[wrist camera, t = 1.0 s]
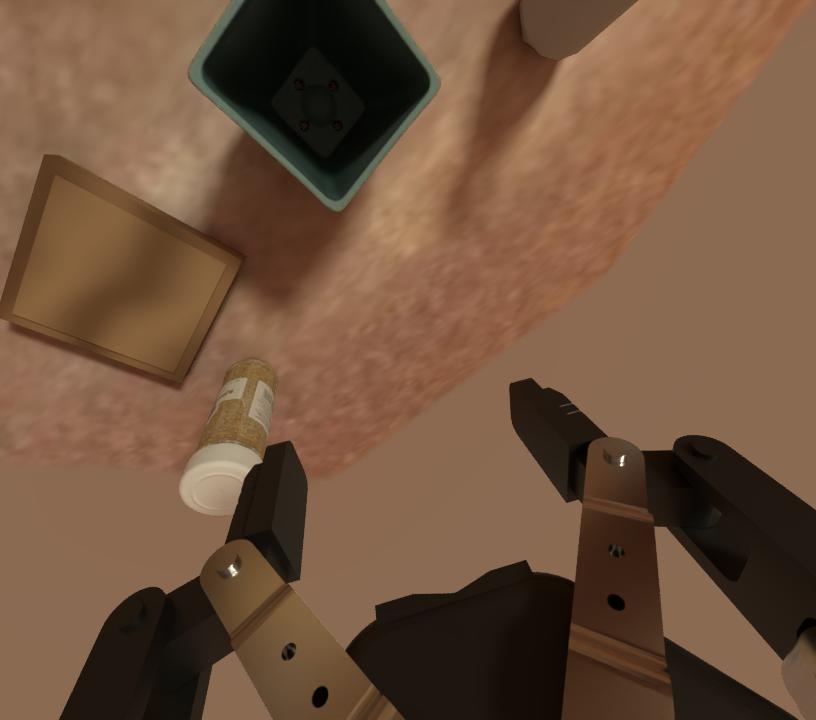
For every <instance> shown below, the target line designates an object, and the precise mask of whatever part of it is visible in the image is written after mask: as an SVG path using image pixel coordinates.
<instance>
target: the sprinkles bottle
mask: <svg viewBox="0 0 816 720" xmlns="http://www.w3.org/2000/svg"><path fill="white" fill-rule="evenodd" d="M277 386H278V379H277V375H276V373H275V371H274V370H273V368H271V367H270V366H269V365H268V364H266V363H264V362H262V361H260V360H254V359H248V360H243V361H239V362H237V363H235V364H234V365H232V366H231V367H230V368H229V370H228V371H227V373H226V376H225V382H224V384H223V387H222V389H221V390H220V392H219V394H218V397H217V399H216V402H215V404H214V407H213V409H212V412H211V415H210V417H209V419H208V422H207V424H206V426H205V431H204V433H203V436H202V438H201V441H200V443H199V446H198V448H197V451H196V452H195V454H194V455H192V457H191V458H190V459H189V461H188V463H187V465H186V467H185V470H184V472H183V474H182V477H181V480H180V483H179V493H180V496H181V498H182V500H183V502H184V503H185V504H186V505H187V506H188V507H190V508H191V509H193V510H195V511H197V512H199V513H202V514H206V515H212V516H226V515H232V514H234V512H235V509H236V505H237V504H238V498H239V495H240V493H241V488H242V485H243V482H244V478H245V477H246V475H247V474H248V473H249V471H250V470H251V469H252V467H253V466H254V465H256V464H259V463H262V462H263V458H264V453H265V448H266V445H267V442H268V436H269V430H270V424H271V418H272V412H273V406H274V393H275V391H276V389H277Z"/></svg>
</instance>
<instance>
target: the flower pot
mask: <svg viewBox="0 0 816 720" xmlns="http://www.w3.org/2000/svg"><path fill="white" fill-rule="evenodd" d="M188 78H189V80H190V81H191V83H192V84H193V85H194V86H195V87H196V88H197V89H198V90H199V91H200V92H201V93H202V94H203V95H204V96H206V97H207V98H208V99H209V100H211V101H212V102H213V103H214V104H215V105H216V106H217V107H218V108H219V109H221V110H222V111H223V112H224V113H225V114H226V115H227V116H228V117H230V118H231V119H232V120H233V121H234V122H235V123H236V124H238V125H239V126H240V127H241V128H242V129H243V130H244V131H245V132H246V133H248V134H249V135H250V136H251V137H252V138H253V139H254V140H255V141H256V142H258V143H259V144H260V145H261V146H262V147H263V148H264V149H265V150H266V151H267V152H268V153H269V154H270V155H272V156H273V157H274V158H275V159H276V160H277V161H278V162H279V163H280V164H281V165H282V166H284V167H285V168H286V169H287V170H288V171H289V172H290V173H291V174H292V175H293V176H294V177H295V178H297V179H298V180H299V181H300V182H301V183H302V184H303V185H304V186H305V187H306V188H307V189H308V190H309V191H310V192H311V193H312V194H313V195H314V196H315V197H317V198H318V199H319V200H320V201H321V203H322V204H323V205H325V206H326V207H327V208H328V209H330V210H331V211H333V212H340V211H342V210H343V209H344V208H345V207H346V206H347V204H348V203H349V202H350V201H351V199H352V198H353V196H354V195H355V194H356V193H357V191H358V190H359V189H360V188H361V186H362V185H363V184H364V183H365V181H366V180H367V179H368V177H369V176H370V175H371V173H372V172H373V171H374V170H375V169H376V167H377V166H378V165H379V163H380V162H381V161H382V160H383V158H384V157H385V156H386V155H387V154H388V152H389V151H390V150H391V148H392V147H393V146H394V145H395V143H396V142H397V141H398V140H399V138H400V137H401V136H402V135H403V133H404V132H405V131H406V130H407V129H408V127H409V126H410V125H411V124H412V123H413V121H414V120H415V119H416V118H417V117H418V115H419V114H420V113H421V112H422V110H423V109H424V108H425V107H426V106H427V105H428V104H429V103H430V101H431V100H432V99H433V98H434V96H435V95H436V94H437V92H438V90H439V88H440V85H441V80H440V76H439V74H438V73H437V71H436V69H435V68H434V66H433V65H432V63H431V62H430V61H429V60H428V58H427V57H426V56H425V54H424V53H423V51H422V50H421V49H420V48H419V46H418V45H417V43H416V42H415V40H414V39H413V38H412V37H411V35H410V34H409V32H408V31H407V30H406V28H405V27H404V25H403V24H402V23H401V21H400V20H399V18H398V17H397V16H396V14H395V13H394V11H393V10H392V9H391V8H390V6H389V5H388V3H387V2H386V0H232V1H231V2H230V3H229V5H228V6H227V8H226V10H225V11H224V13H223V14H222V15H221V17H220V19H219V20H218V22H217V23H216V25H215V26H214V28H213V29H212V31H211V32H210V34H209V35H208V37H207V38H206V40H205V42H204V43H203V44H202V46H201V47H200V49H199V50H198V52H197V53H196V55H195V56H194V58H193V59H192V61H191V63H190V66H189V68H188ZM296 81H301V82H302V83H303V89H302V90H298V89H296V87H295V82H296ZM331 82H335V83H336V85H337V90H336V91H332V90H331V89H330V83H331ZM301 122H306V123H307V124H308V129H307V130H303V129H302V128H301V126H300V125H301ZM336 122H339V123H340V125H341V128H340V130H338V131H337V130H335V129H334V123H336Z"/></svg>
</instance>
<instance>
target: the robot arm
mask: <svg viewBox="0 0 816 720" xmlns="http://www.w3.org/2000/svg"><path fill="white" fill-rule="evenodd" d="M509 391H510V410H511V420H512V424H513V427H514V429H515V431H516V433H517V434H518V436H519V437H520V439H521V440H522V441H523V443H524V444H525V446H526V447H527V448H528V450H529V451H530V453H531V454H532V456H533V457H534V458H535V460H536V461H537V462H538V464H539V465H540V467H541V468H542V469H543V471H544V472H545V474H546V475H547V476H548V478H549V479H550V481H551V482H552V483H553V485H554V486H555V487H556V489H557V490H558V492H559V493H560V495H561V496H562V497H563V499H564V500H565V501H566V503H568V502H571V501H575V500H578V499H579V500H580V502H581V503H582V514H581V525H580V535H579V545H578V556H577V566H576V576H575V582H573V581H571V580H569V579H566V578H563V577H561V576H558V575H553V574H549V573H541V572H532V571H531V569H530V567H529V565H528V563H527V561H526V560H524V561H521V562H518V563H515V564H511V565H508V566H504V567H501V568H498V569H494V570H491V571H489V572H487V573H486V574H484V575H483V576H481V577H480V578H478V579H477V580H475V581H473V582H472V583H470V584H469V585H467V586H466V587H464V588H463V589H461V590H459V591H458V592H456V593H447V594H412V595H409V596H406V597H403V598H399V599H396V600H392V601H389V602H386V603H382V604H380V605H376V606H375V610H376V620H375V621H373V622H372V623H370V624H369V625H368V626H367V627H365V628H364V629H363V630H362V631H361V632H360V633H359V634H358V635H357V636H356V637H355V638H354V639H353V640H352V642H351V643H350V644H349V646H348V647H347V648H346V650H344V649H343V648H342V647H341V645H340V644H339V643H338V642H337V641H336V639H335V638H334V637H333V636H332V635H331V633H330V632H329V631H328V630H327V629H326V627H325V626H324V625H323V624H322V623H321V622H320V620H319V619H318V618H317V617H316V616H315V614H314V613H313V612H312V611H311V610H310V608H309V607H308V606H307V605H306V604H305V603H304V601H303V600H302V599H301V598H300V596H299V595H298V594H297V593H296V592H295V590H294V589H293V588H292V587H291V586H290V585H287V583H290V582H294V581H297V580H300V574H301V562H302V561H301V560H302V549H303V538H304V527H305V515H306V503H307V490H308V486H307V478H306V474H305V472H304V469H303V467H302V465H301V462H300V460H299V458H298V456H297V453H296V451H295V449H294V447H293V444H292V443H291V441H285V442H281V443H277V444H274V445H270V446H267V447H266V450H265V454H264V458H263V462H262V463H259V464H256V465H254V466H253V467H252V469H251V470H250V471H249V473H248V474H247V475H246V477H245V478H244V482H243V485H242V488H241V493H240V495H239V498H238V504H237V505H236V509H235V512H234V515H233V519H232V522H231V525H230V529H229V532H228V535H227V539H226V542H225V545H223V546H222V547H220V548H219V549H218V550H217V551H215V552H214V553H213V554H212V556H210V557H209V559H208V560H207V561H206V563H205V565H204V566H203V569H202V571H201V574H200V576H198V577H196V578H195V579H193V580H191V581H190V582H188V583H186V584H184V585H183V586H181V587H179V588H178V589H175V590H174V591H172V592H170V593H168V594H167V595H166V594H165V593H164V592H163V590H161V589H160V588H158V587H149V588H145V589H142V590H140V591H138V592H136V593H134V594H132V595H131V596H129V597H128V598H127V599H125V600H124V601H123V602H122V603H121V604H120V605H119V606H118V607H117V608H116V609H115V610H114V611H113V612H112V613H111V614H110V616H109V617H108V618H107V620H106V622H105V623H104V625H103V627H102V629H101V631H100V633H99V635H98V637H97V639H96V642H95V644H94V646H93V648H92V650H91V652H90V654H89V657H88V659H87V661H86V663H85V665H84V667H83V669H82V671H81V674H80V676H79V678H78V680H77V682H76V684H75V687H74V689H73V691H72V693H71V695H70V697H69V699H68V702H67V704H66V706H65V708H64V710H63V712H62V715H61V716H60V719H59V720H201V719H202V714H203V710H204V704H205V700H206V695H207V690H208V685H209V680H210V675H211V670H212V665H213V664H215V663H216V662H218V661H219V660H221V659H222V658H224V657H225V656H227V655H228V654H230V653H231V652H233V651H235V653H236V654H237V656H238V658H239V660H240V662H241V663H242V665H243V667H244V668H245V671H246V672H247V674H248V676H249V678H250V679H251V681H252V683H253V685H254V687H255V688H256V690H257V691H258V694H259V695H260V697H261V699H262V701H263V702H264V704H265V706H266V707H267V710H268V711H269V713H270V715H271V717H272V718H273V720H798V719H797V718H795V717H794V716H793V715H791V714H790V713H788V712H786V711H785V710H783V709H782V708H780V707H778V706H777V705H775V704H774V703H772V702H770V701H769V700H767V699H765V698H764V697H762V696H760V695H759V694H757V693H755V692H754V691H752V690H750V689H749V688H747V687H746V686H744V685H743V684H741V683H739V682H738V681H736V680H734V679H733V678H731V677H730V676H728V675H726V674H724V673H723V672H721V671H719V670H718V669H716V668H715V667H713V666H712V665H710V664H708V663H707V662H705V661H703V660H702V659H700V658H698V657H697V656H695V655H694V654H692V653H690V652H689V651H687V650H685V649H684V648H682V647H681V646H679V645H677V644H676V643H674V642H672V641H671V640H669V639H668V638H666V637H664V635H663V622H662V611H661V599H660V587H659V575H658V563H657V552H656V540H655V528H654V526H657V527H667V528H668V529H669V531H670V532H671V533H672V534H673V535H674V536H675V538H676V539H677V540H678V541H679V542H680V543H681V545H682V546H683V547H684V548H685V549H686V550H687V551H688V553H690V555H691V556H692V557H693V558H694V559H695V561H696V562H697V563H698V564H699V565H700V566H701V567H702V569H703V570H704V571H705V572H706V573H707V574H708V575H709V577H710V578H711V579H712V580H713V581H714V582H715V584H716V585H717V586H718V587H719V588H720V589H721V590H722V592H723V593H724V594H725V595H726V596H727V597H728V598H729V599H730V601H731V602H732V603H733V604H734V605H735V606H736V608H737V609H738V610H739V611H740V612H741V613H742V615H743V616H744V617H745V618H746V619H747V620H748V621H749V623H750V624H751V625H752V626H753V627H754V628H755V629H756V631H757V632H758V633H759V634H760V635H761V636H762V637H763V639H764V640H765V641H766V642H767V643H768V644H769V645H770V647H771V648H772V649H773V650H774V651H775V652H776V653H777V655H778V656H779V657H780V658H781V659H782V660H783V662H782V666H781V672H782V677H783V681H784V683H785V686H786V688H787V690H788V691H789V693H790V695H791V696H792V698H793V699H794V701H795V702H796V704H797V706H798V709H799V711H800V713H801V714H802V715H803V717H804V718H805V719H806V720H816V510H815V509H813V508H812V507H811V506H810V505H808V504H807V503H805V502H804V501H803V500H801V499H800V498H799V497H797V496H796V495H795V494H793V493H792V492H790V491H789V490H788V489H786V488H785V487H784V486H782V485H781V484H780V483H778V482H777V481H775V480H774V479H773V478H771V477H770V476H769V475H767V474H766V473H765V472H763V471H762V470H761V469H759V468H758V467H757V466H755V465H754V464H752V463H751V462H750V461H748V460H747V459H746V458H744V457H743V456H742V455H740V454H739V453H737V452H736V451H735V450H733V449H732V448H731V447H729V446H728V445H726V444H724V443H723V442H721V441H718V440H716V439H713V438H710V437H706V436H700V435H687V436H683V437H680V438H678V439H677V440H676V441H675V443H674V446H673V450H667V451H666V450H664V451H663V450H662V451H641V450H640V449H639V448H638V447H637V446H635V445H634V444H632V443H630V442H628V441H626V440H623V439H620V438H614V437H608V436H607V435H606V434H605V433H603V431H602V430H600V429H599V428H598V427H597V426H596V425H595V424H594V423H593V422H592V421H591V420H590V419H589V418H588V417H587V416H586V415H585V414H583V413H582V412H580V411H579V409H578V408H577V407H576V406H575V405H574V404H572V402H571V401H569V399H568V398H566V397H565V396H564V395H563V394H562V393H560V392H558V391H555V390H553V389H551V388H545V389H542V388H541V387H540V386H539V385H538V384H537V383H536V382H535V381H534V380H533V379H532V378H528V379H525V380H521V381H517V382H514V383H511V384H510V387H509Z"/></svg>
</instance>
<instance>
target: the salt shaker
mask: <svg viewBox="0 0 816 720" xmlns="http://www.w3.org/2000/svg"><path fill="white" fill-rule="evenodd" d="M637 1H638V0H521V2H520V5H519V13H520V22H521V31H522V40H523V41H524V42H526V43H527V44H529V45H530V46H532V47H533V48H534V49H535V50H536V51H537V52H538V53H539V54H540V55H541V56H544V57H547V58H551V59H554V60H561V59H564V58H566V57H568V56H571V55H573V54H576V53H578V52H579V51H580V50H581V49H583V48H584V47H585V46H586V45H587V44H588V43H590V42H591V41H592V40H593V39H594V38H595V37H596V36H598V35H599V34H600V33H601V32H602V31H603V30H605V29H606V28H607V27H608V26H609V25H610V24H611V23H613V22H614V21H615V20H616V19H617V18H618V17H620V16H621V15H622V14H623V13H624V12H625V11H626V10H628V9H629V8H630V7H631V6H632V5H633V4H635V3H636V2H637Z"/></svg>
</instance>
